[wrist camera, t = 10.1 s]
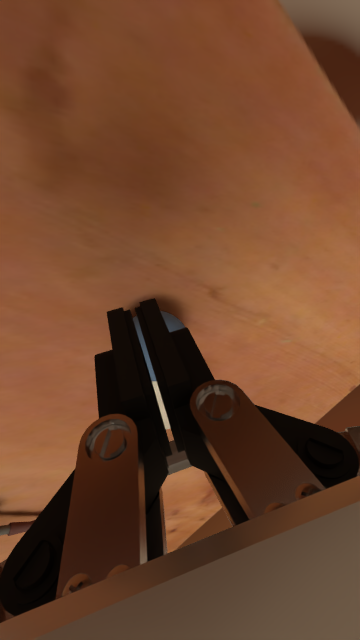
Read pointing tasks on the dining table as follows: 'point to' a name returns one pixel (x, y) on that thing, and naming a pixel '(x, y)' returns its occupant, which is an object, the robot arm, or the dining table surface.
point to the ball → (172, 325)
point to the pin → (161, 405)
